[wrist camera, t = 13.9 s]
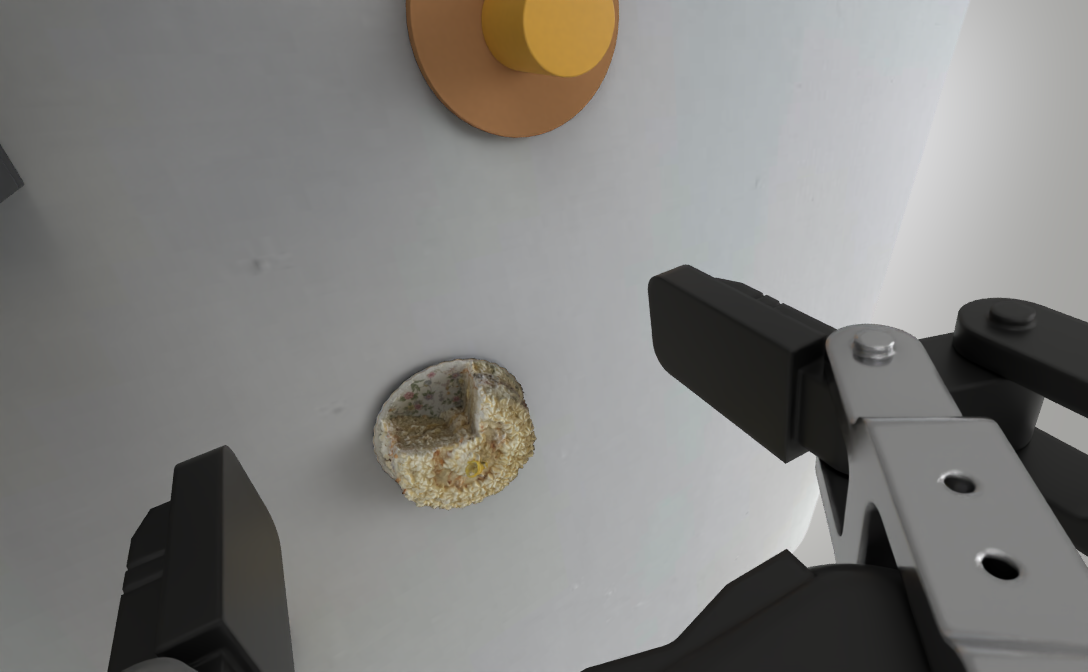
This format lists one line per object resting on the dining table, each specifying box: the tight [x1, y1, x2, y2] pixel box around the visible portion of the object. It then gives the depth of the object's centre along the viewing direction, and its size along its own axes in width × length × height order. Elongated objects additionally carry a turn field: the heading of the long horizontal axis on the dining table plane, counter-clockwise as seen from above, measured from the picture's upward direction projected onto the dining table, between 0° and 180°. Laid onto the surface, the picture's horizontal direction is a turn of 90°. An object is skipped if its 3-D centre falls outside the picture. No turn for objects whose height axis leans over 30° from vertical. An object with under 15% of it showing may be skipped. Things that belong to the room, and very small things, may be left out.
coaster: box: [406, 0, 619, 138], centre depth 30 cm, size 11×11×1 cm
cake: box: [372, 358, 536, 510], centre depth 37 cm, size 10×10×5 cm
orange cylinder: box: [481, 0, 615, 78], centre depth 27 cm, size 4×4×5 cm
